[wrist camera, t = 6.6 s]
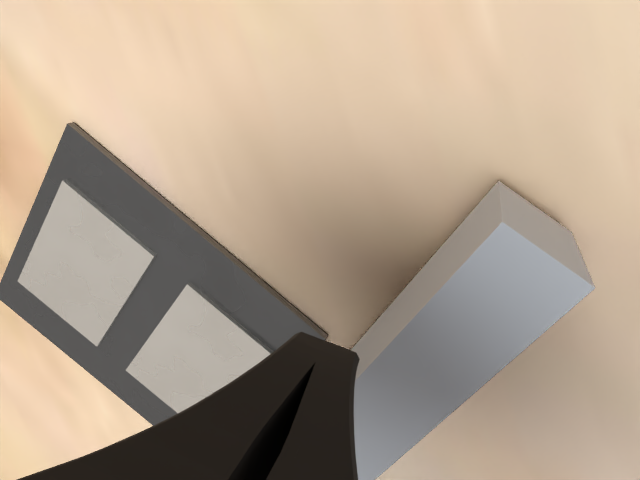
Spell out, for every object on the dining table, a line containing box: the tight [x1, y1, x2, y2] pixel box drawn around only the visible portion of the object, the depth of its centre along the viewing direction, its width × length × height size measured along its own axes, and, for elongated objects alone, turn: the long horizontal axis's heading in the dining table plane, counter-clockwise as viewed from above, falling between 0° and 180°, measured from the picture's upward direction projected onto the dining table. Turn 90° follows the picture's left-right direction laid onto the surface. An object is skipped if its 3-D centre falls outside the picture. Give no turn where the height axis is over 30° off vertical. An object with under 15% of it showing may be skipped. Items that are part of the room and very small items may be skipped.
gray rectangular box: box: [351, 181, 595, 480], centre depth 15 cm, size 12×2×3 cm, turn 147°
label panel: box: [0, 122, 328, 426], centre depth 20 cm, size 12×10×1 cm
